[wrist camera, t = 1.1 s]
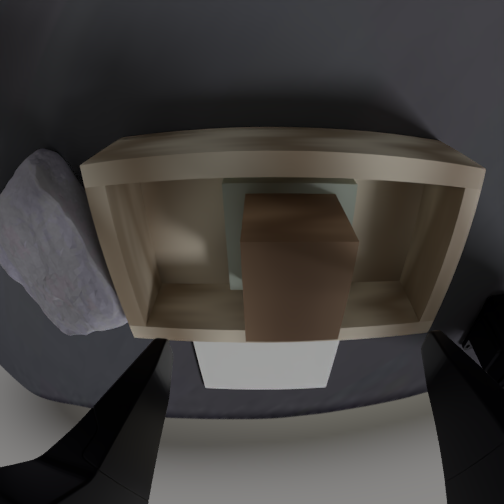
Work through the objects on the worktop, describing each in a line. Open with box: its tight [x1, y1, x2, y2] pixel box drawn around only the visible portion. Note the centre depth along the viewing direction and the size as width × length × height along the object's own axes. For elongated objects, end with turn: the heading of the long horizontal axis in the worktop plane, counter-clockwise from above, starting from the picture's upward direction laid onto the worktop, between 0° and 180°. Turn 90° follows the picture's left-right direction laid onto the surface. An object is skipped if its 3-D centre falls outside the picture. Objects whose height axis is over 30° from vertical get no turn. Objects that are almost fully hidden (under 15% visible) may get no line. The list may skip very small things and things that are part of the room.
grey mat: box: [193, 340, 339, 389], centre depth 23 cm, size 11×11×1 cm
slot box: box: [80, 127, 486, 343], centre depth 15 cm, size 17×10×4 cm, turn 91°
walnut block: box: [240, 193, 359, 342], centre depth 13 cm, size 4×5×4 cm
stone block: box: [0, 148, 128, 336], centre depth 17 cm, size 12×5×10 cm
